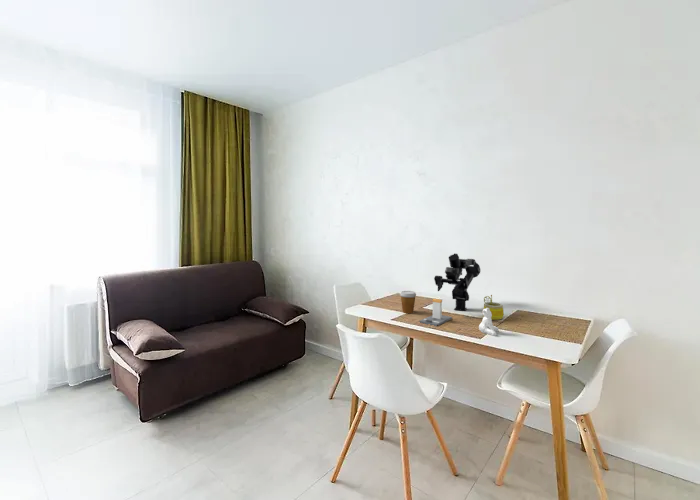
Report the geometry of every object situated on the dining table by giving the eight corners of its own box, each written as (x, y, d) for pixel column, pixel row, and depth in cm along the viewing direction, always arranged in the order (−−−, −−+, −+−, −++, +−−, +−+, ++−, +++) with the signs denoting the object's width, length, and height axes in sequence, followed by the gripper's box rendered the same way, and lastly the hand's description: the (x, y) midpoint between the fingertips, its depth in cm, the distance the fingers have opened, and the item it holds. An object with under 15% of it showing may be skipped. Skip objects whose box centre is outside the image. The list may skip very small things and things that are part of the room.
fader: (434, 316, 188) (434, 298, 187) (441, 318, 185) (442, 300, 184) (432, 317, 186) (432, 299, 186) (439, 319, 183) (440, 300, 183)
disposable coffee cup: (415, 310, 207) (415, 290, 206) (416, 314, 197) (417, 294, 196) (399, 309, 208) (399, 290, 207) (400, 314, 198) (400, 293, 197)
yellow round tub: (505, 321, 183) (506, 299, 182) (484, 320, 185) (485, 298, 184) (500, 314, 196) (501, 294, 195) (480, 314, 198) (480, 293, 197)
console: (435, 315, 195) (435, 312, 195) (452, 318, 188) (452, 315, 188) (419, 322, 182) (419, 318, 182) (436, 326, 175) (436, 322, 175)
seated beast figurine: (495, 336, 159) (496, 311, 158) (476, 333, 164) (477, 309, 163) (499, 331, 167) (499, 307, 166) (480, 328, 172) (481, 305, 171)
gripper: (437, 261, 200) (427, 279, 190) (468, 264, 188) (460, 282, 178) (440, 276, 205) (431, 293, 195) (472, 279, 194) (463, 298, 184)
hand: (445, 291), depth 188 cm, fingers open, 9 cm apart
